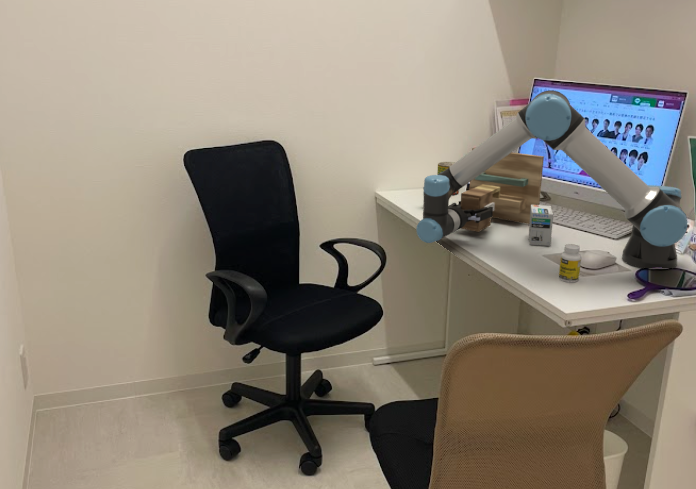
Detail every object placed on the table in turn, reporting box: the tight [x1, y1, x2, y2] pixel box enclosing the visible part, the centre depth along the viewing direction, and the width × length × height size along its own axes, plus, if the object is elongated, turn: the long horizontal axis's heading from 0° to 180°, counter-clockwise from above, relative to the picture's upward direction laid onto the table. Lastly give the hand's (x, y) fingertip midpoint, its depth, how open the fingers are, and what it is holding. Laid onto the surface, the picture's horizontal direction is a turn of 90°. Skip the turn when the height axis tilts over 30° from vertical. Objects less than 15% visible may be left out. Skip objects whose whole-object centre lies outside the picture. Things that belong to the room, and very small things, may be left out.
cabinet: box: [460, 185, 500, 233], centre depth 236 cm, size 16×7×12 cm, turn 144°
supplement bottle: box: [558, 243, 582, 283], centre depth 194 cm, size 5×5×10 cm
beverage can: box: [436, 161, 460, 197], centre depth 285 cm, size 9×9×12 cm
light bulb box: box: [528, 204, 554, 247], centre depth 226 cm, size 11×7×11 cm, turn 168°
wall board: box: [468, 147, 545, 225], centre depth 247 cm, size 11×26×24 cm, turn 54°
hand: (482, 204), depth 237 cm, fingers closed on cabinet, 7 cm apart
